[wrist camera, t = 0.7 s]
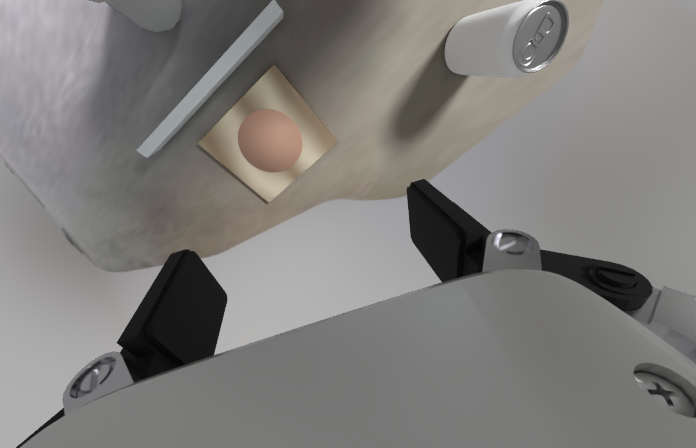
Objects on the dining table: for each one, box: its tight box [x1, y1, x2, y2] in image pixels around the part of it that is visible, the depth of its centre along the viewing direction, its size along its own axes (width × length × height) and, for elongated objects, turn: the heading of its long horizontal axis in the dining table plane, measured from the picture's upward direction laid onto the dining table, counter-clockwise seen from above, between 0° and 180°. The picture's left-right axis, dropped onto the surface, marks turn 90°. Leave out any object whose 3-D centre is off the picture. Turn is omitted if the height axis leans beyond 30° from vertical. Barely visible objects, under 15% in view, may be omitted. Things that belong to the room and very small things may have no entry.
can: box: [445, 0, 569, 77], centre depth 28 cm, size 6×6×12 cm
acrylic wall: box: [136, 0, 283, 158], centre depth 28 cm, size 22×1×4 cm, turn 128°
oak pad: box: [197, 64, 337, 202], centre depth 34 cm, size 14×12×1 cm
